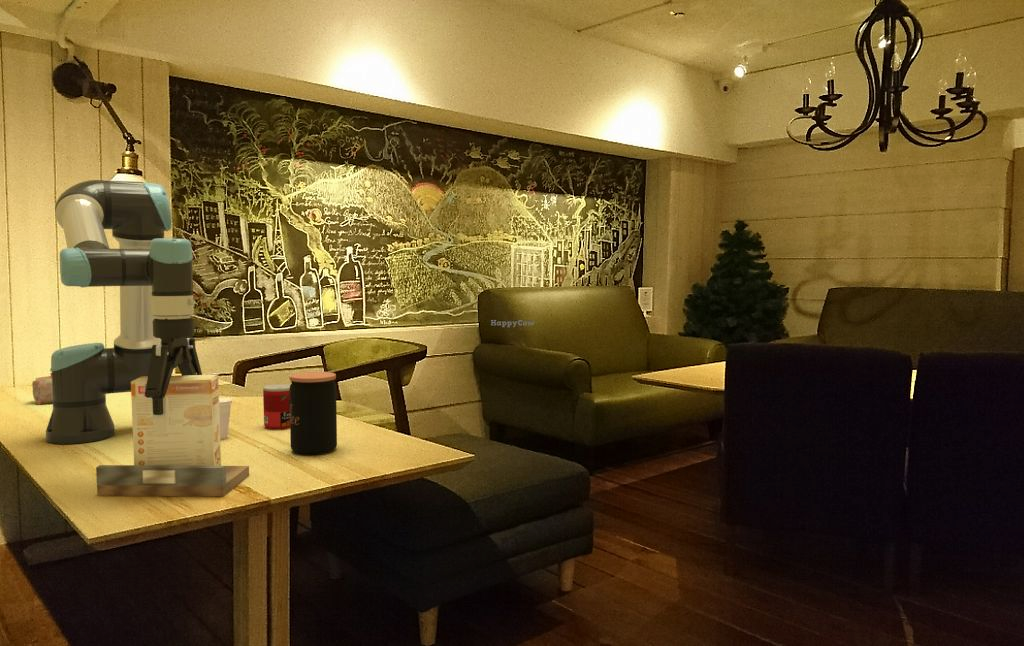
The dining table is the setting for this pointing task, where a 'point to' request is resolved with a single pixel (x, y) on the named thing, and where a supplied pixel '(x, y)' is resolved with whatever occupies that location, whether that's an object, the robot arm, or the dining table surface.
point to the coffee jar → (313, 413)
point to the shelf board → (168, 480)
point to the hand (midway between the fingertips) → (177, 423)
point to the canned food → (276, 406)
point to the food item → (43, 390)
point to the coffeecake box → (179, 423)
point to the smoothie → (224, 416)
